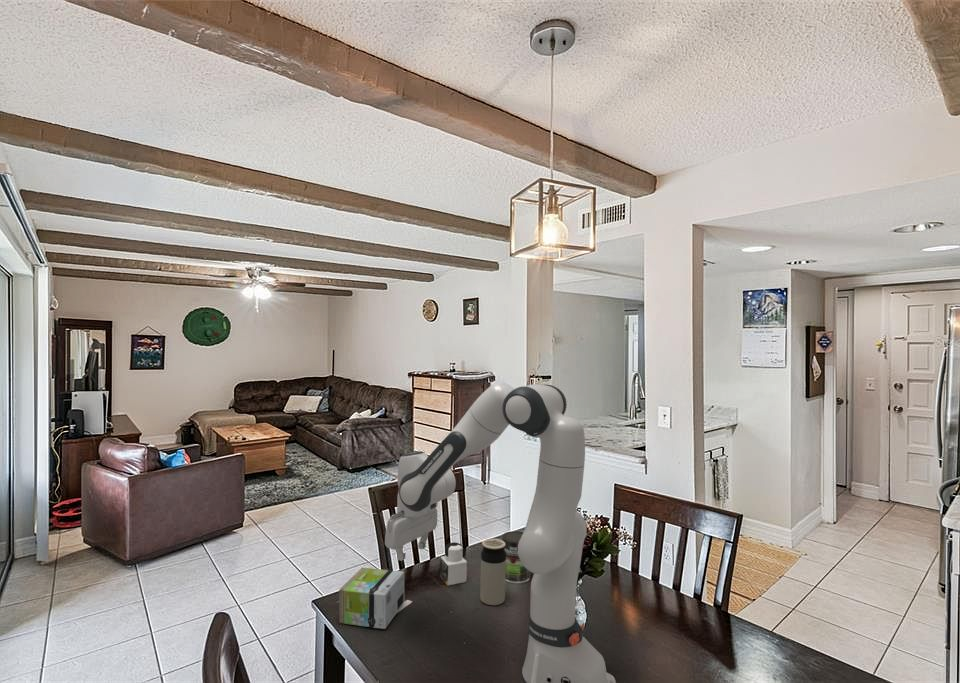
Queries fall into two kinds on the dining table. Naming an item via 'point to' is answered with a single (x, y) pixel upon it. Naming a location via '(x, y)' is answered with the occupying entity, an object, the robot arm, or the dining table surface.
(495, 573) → the travel mug
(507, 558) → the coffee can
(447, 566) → the medicine bottle
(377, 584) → the tea box
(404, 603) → the strip
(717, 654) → the dining table surface
